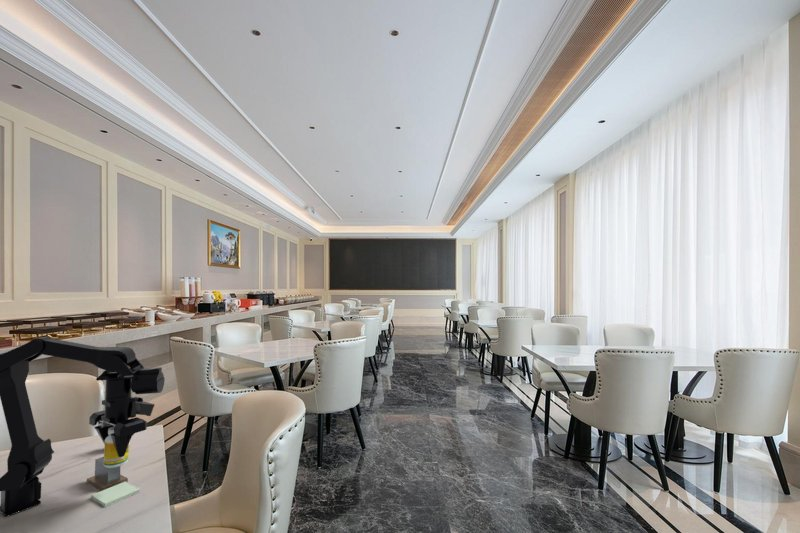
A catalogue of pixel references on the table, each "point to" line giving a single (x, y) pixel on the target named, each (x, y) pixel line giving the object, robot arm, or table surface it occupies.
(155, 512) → the table surface
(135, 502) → the table surface
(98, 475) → the mounted unit
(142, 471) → the table surface
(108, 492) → the sage pad
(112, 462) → the supplement bottle
